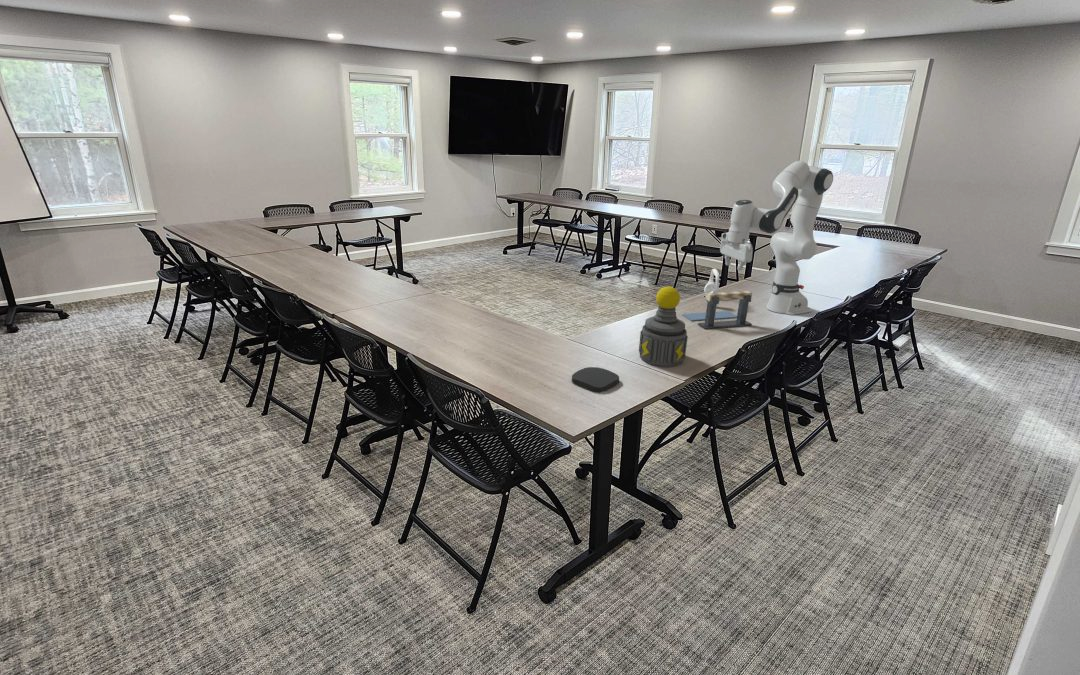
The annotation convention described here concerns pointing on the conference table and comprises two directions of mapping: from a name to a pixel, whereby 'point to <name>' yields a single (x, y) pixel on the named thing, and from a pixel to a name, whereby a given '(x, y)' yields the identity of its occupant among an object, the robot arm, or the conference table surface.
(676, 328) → the decorative lamp
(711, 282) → the headset
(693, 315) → the mat
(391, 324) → the conference table surface
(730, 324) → the hook rack
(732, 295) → the rail
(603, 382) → the media streaming box
